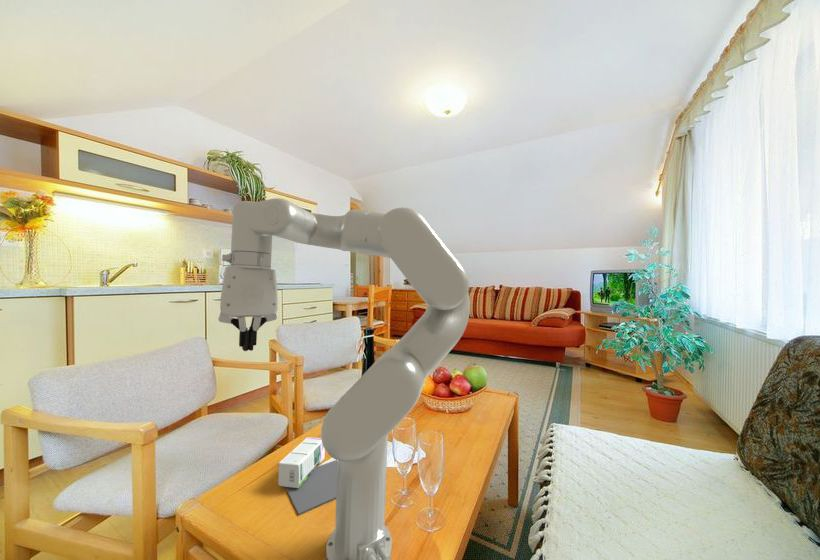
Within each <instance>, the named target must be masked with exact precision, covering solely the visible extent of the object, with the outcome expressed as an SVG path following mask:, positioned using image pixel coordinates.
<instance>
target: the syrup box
mask: <svg viewBox="0 0 820 560" xmlns="http://www.w3.org/2000/svg"><path fill="white" fill-rule="evenodd" d="M325 453H326V450H325V448H324V446H323V443H322V439H321V437H310V436H309V437H308V436H307V437H306V438H304V440H303V441H301V443H299V444H298V445H297V446H296V447H295V448H293V449H292V450H291V451H290V452H289V453H288V454H287V455H286V456H285V457H284V458H282V459H281V460H280V461H279V462H278V480H277V481H278V482H277V483H278V486H279V487H284V488H285V487H293V488H299V487H300V486H301V485H302V484H303V482H304V481H305V480H306V479H307V478H308V477H309V476H310V474H311V473H312V472H313V471H314V470H315V469H316V468H317V467H318V466H320V464H321V463H322V462H323V461H324V460H325V458H326V457H325V455H326V454H325Z"/></svg>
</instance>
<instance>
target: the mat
mask: <svg viewBox="0 0 820 560" xmlns="http://www.w3.org/2000/svg"><path fill="white" fill-rule="evenodd" d="M337 468H338V460H336V459H334V460H332V461H330V462H326V463H324V464H321V465H318V466H317V468H316V469H315V470H314V471H313V472H312V473H311V474H310V476H309V477H308V478H307V479H306V480H305V481H304V482H303V484H302V485H301V486H300V487H299V488H293V487H284V489H285V491H286V493H287V495H288V497H289V499H290V501H291V503H292V505H293V506H294V509H295V512H296V513H297V515H298V516H301V515H303V514H305V513H308V512H309V511H312V510H314V509H316V508H319V507H321V506H323V505H326V504H327V503H329V502H332V501H334V500H336V492H337Z"/></svg>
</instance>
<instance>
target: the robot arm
mask: <svg viewBox="0 0 820 560" xmlns="http://www.w3.org/2000/svg"><path fill="white" fill-rule="evenodd" d="M273 236H274V237H277V238H280V239H285V240H289V241H292V242H293V243H298V244H301V245H308V246H315V247H318V248H319V247H320V248H327V249H335V250H340V251H342V252H351V253H358V254H363V255H371V256H376V257H383V258H387V259H391V260H392V261H393V263H394V265H395V266H396V267H397V268H398V270H399V271H400V272H401V274H402V275H403V276H404V278H405V279H406V280H407V281H408V283H409V284H410V286H411V287H412V288H413V290H415V292H416V293H417V294H418V296H419V297H420V298H421V300H423V302H425V304H427V307H426V310H425V311H424V313H423V314H422V315H421V317H419V318H418V320H417V321H416V322H415V323H414V324H413V325H412V326H411V328H410V329H409V330H408V331H407V332H406V333H405V334H404V335H403V336H402V337H401V338H400V339H399V340H398V341H397V342H396V343H395V344H394V345H393V346H392V347H390V349H388V350H387V351H385V352H384V353H382V355H380V356H379V357H378V358H377V359H376V360H375V361H374V362H373V363H372V365H371V366H370V367H369V368H368V369H367V370H366V371H365V372H364V373H363V375H361V376H360V378H358V380H357V381H355V383H354V384H353V385H352V386H351V387H350V388H348V390H346V391H345V393H344V394H342V396H341V397H340V398H339V400H338V401H336V402H335V404H334V405H332V407H331V408H329V410H328V411H327V413H326V415H325V416H324V418H323V422H322V424H321V431H320V438H321V439H322V443H323V446H324V448H325V453H327V454H328V455H329V456H330V457H331V458H333V459H334V460H337V461H338V468H337V492H336V499H335V502H336V503H335V524H334V525H335V526H334V529H333V531H332V532H331V534H329V537H328V539H327V541H326V546H325V556H326V560H392V556H391V554H392V553H391V552H392V549H393V548H392V545H393V539H392V534H391V531H390V530H389V528H388V526H387V525H385V521H386V520H385V519H386V493H387V491H386V489H387V468H388V467H387V465H388V462H387V461H388V443H389V434H390V433H391V432H392V431H393V430H394V429H395V428H396V427H397V426H398V425H399V424H400V423H401V422H402V421H403V419H405V418H406V416H408V414H409V413H410V412H411V411H412V409H413V408H414V407H415V405H416V404H417V403H418V401H419V399H420V396H421V394H422V393H423V388H424V384H425V382H426V379H427V378H428V376H430V374H431V373H432V372H433V370H434V369H436V368H437V367H438V366H439V364H440V363H441V362H442V361H443V360H444V359H445V358H446V356H447V355H448V354H449V353H450V352H451V351H452V350H453V349H454V347H455V346H457V343H458V342H459V341H460V339H461V338H462V336H463V335H464V332H465V331H466V328H467V326H468V322H469V318H470V312H471V301H470V295H469V288H470V282H469V276H468V275H467V272H466V270H465V269H464V268H463V266H462V265H461V263H460V261H458V259H456V257H455V256H454V255H453V254H452V252H451V251H450V250H449V248H448V247H447V246H446V245H445V243H444V242H443V241H442V239H441V238H440V237H439V236H438V234H436V232H435V231H434V230H433V228H432V227H431V225H430V224H429V223H428V222H427V221H426V219H425V217H424V216H423V215H422V214H421V213H419V212H418V211H416V210H415V209H412V208H410V207H409V208H408V207H396V208H393V209H390V210H388V211H387V212H386V213H381V212H376V211H368V210H362V209H350V210H348V211H347V212H346V213H345V214H343V215H328V214H320V213H315V212H310V211H308V210H306V209H304V208H302V207H301V206H299V205H297V204H295V203H293V202H291V201H289V200H287V199H284V198H279V197H275V198H269V199H264V200H260V201H252V200H251V201H250V200H249V201H248V200H242V201H238V202H236V203H234V205H233V208H232V222H231V240H230V241H231V242H230V243H231V245H230V253H227V254H222V257H221V259H222V260H221V261H222V262H226V263H228V264H229V266H227V267H226V268H225V272H224V276H223V281H222V287H221V295H220V313H219V315H218V318H217V320H218V321H219V322H220V323H223V324H229V325H233V326H234V327H235V328H236V329H237V330H239V337H238V338H239V340H238V345H239V347H240V348H241V349H242V350H243V352H247V351H254V347H255V346H257V340H258V339H257V338H258V334H257V333H258V331H259V330H260V328H261V327H262V326H263V325H265V323H268V322H272V321H273V322H274V321H276V320H277V319H278V316H277V312H278V309H279V308H278V304H279V302H278V301H279V300H278V297H279V296H278V281H277V274H276V270H275V269H272V250H273ZM247 317H248V318H249V317H250V318H251V317H252V318H251V321H250V326H249V327H247V321H246V318H247Z"/></svg>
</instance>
